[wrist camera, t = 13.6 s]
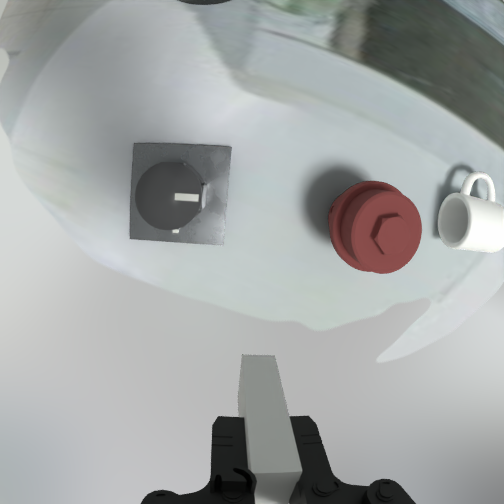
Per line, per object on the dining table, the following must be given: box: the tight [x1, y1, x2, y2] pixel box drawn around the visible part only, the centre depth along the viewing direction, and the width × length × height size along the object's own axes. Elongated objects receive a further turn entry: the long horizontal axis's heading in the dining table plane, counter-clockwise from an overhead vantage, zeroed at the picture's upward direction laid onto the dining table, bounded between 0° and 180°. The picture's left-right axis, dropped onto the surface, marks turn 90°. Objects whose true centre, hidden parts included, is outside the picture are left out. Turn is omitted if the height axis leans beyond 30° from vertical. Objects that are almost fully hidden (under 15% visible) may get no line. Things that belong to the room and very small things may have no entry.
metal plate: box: [130, 143, 232, 246], centre depth 34 cm, size 12×12×5 cm
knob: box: [135, 162, 207, 230], centre depth 33 cm, size 7×7×6 cm
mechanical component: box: [328, 181, 422, 274], centre depth 33 cm, size 12×10×10 cm
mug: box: [438, 172, 504, 253], centre depth 36 cm, size 12×10×8 cm
